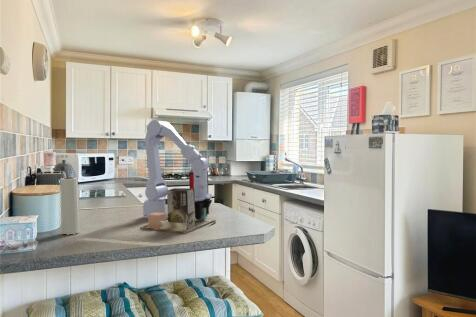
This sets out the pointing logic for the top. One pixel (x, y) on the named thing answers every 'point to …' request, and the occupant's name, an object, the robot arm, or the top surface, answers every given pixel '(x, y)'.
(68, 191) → the tall grey block
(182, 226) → the frame
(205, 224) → the lane frame
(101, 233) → the top surface
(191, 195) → the coffee box
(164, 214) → the terracotta cube
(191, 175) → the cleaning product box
